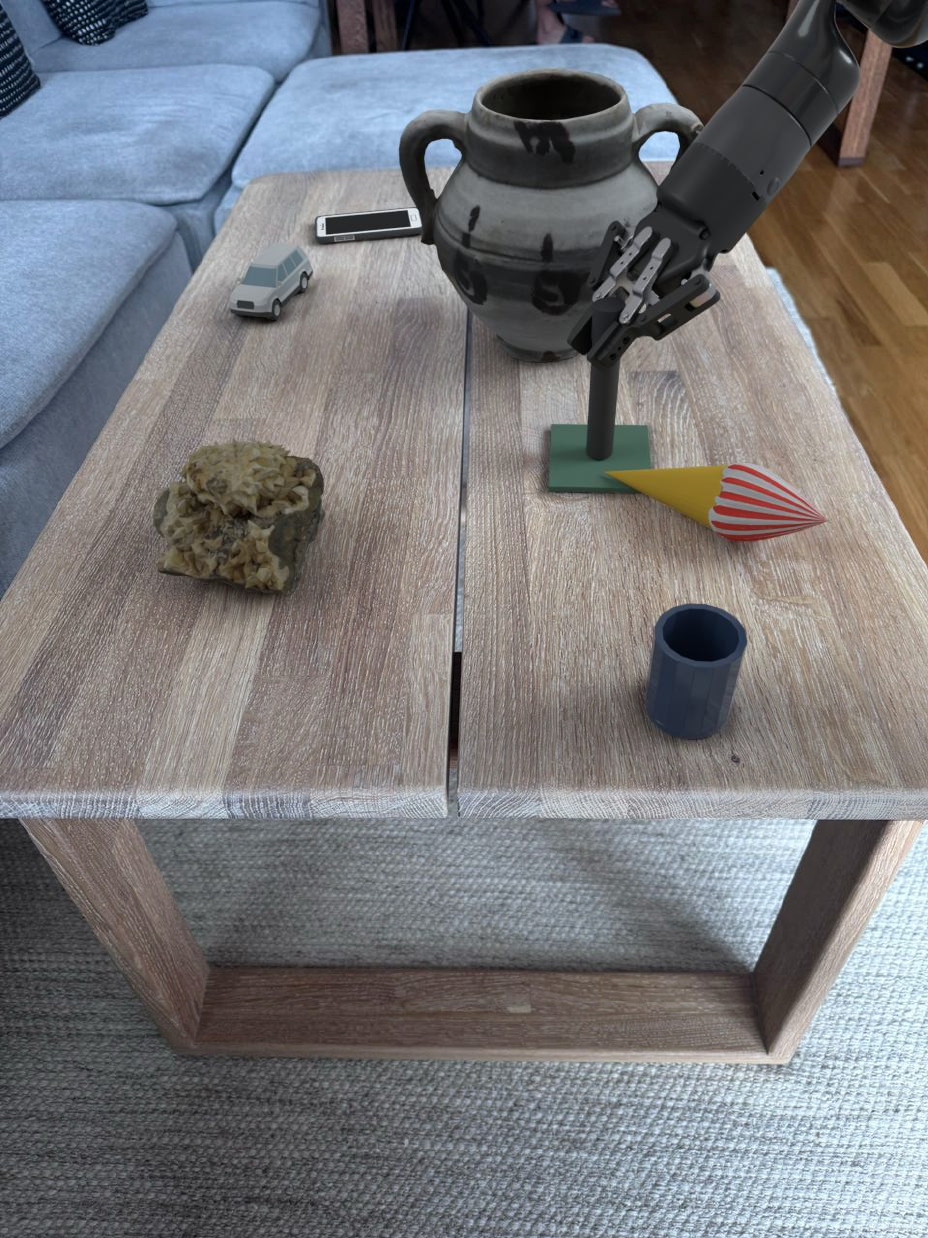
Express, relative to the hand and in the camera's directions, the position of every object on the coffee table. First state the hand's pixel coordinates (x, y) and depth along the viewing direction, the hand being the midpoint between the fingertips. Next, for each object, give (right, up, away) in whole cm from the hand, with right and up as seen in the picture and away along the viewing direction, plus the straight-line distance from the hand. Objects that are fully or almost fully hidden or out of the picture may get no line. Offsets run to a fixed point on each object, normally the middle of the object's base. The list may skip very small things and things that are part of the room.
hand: (585, 356), depth 74 cm
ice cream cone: (+10, -13, +1) cm, 16 cm away
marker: (+2, -6, +8) cm, 10 cm away
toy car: (-33, +16, +35) cm, 50 cm away
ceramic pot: (-1, +8, +24) cm, 26 cm away
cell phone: (-23, +32, +49) cm, 63 cm away
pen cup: (+5, -27, -13) cm, 31 cm away
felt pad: (+2, -7, +8) cm, 11 cm away
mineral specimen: (-28, -17, 0) cm, 33 cm away
